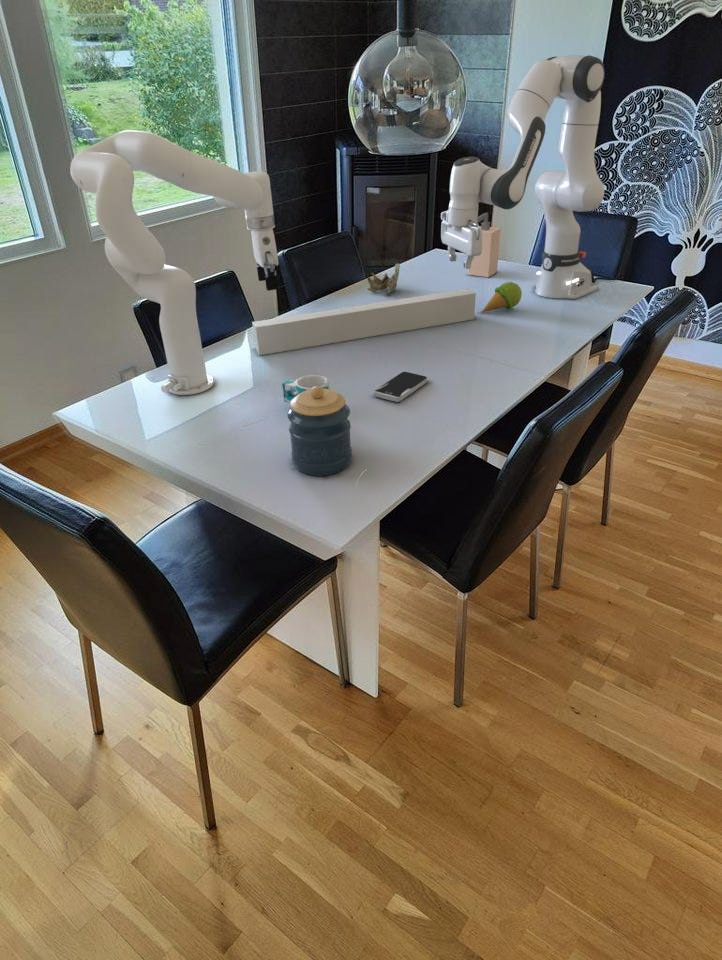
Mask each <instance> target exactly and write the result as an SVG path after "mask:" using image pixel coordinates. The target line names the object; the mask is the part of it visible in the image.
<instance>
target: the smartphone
mask: <svg viewBox="0 0 722 960" xmlns="http://www.w3.org/2000/svg"><path fill="white" fill-rule="evenodd" d="M426 383H428V377H427V376H426V375H421V374H418V373H412V372H408V371H402V372H400V373H399V374H397V375H395V376H393V378H391V379H390V380H388V381H386V382H385V383H383V384H382V385H381V386H379V387H377V388H375V390H374V391H373V392H374V394H373V396H374V397H376V398H379V399H383V400H388V401H390V402H395V403H400V402H402V401H403V400H405V399H406V398H407V397H408V396H410V395H411V394H413V393H414V392H415V391H417V390H418V389H420V388H421V387H423V386H424V385H425V384H426Z"/></svg>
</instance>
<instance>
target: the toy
mask: <svg viewBox="0 0 722 960" xmlns="http://www.w3.org/2000/svg"><path fill="white" fill-rule="evenodd" d="M522 293H523V292H522V288H521V287H520V286H519V284H518V283H515V282H513V281H507V282H505V283H502V284H501V285H500V286H498V287H496V288H495V289H494V294H493V296H491V298H490V300H489V301H488V303H487V304H486V305H485V306H484V308H483V309H482V310H481V313H485V312H490V311H496V310H500V309H506V310H507V311H508V310H511V309H513V308H514V307H516V306H517V305H518V304H520V301H521V299H522V295H523V294H522Z"/></svg>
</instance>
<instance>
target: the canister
mask: <svg viewBox="0 0 722 960" xmlns="http://www.w3.org/2000/svg"><path fill="white" fill-rule="evenodd" d="M289 404H290V408H289V409H288V411H287V419H288V421H289V422H290V424H289V426H288V432H289V435H290V446H291V460H292V462H293V465H294V467H295V468H296V470H298V471H299V472H301V473H303V474H305V475H311V476H328V475H329V476H330V475H334V474H338V473H339V472H341V471H343V470H345V469H346V468H347V467H349V465H350V463H351V461H352V457H353V449H352V445H351V443H352V442H351V421H350V420H349V416H350V414H351V409H350V407H349V406H348V404H346V399H345V396H343V395H342V394H340V393H338V392H337V391H335V390H333V389H330V388H329V389H324V388H321V387H320V386H314V387H313V388H312V389H310V390H306V391H304V392H302V393H300V394H299V395H298V396H296V397H295V398H293V399H292V401H291V403H289Z"/></svg>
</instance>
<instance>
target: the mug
mask: <svg viewBox="0 0 722 960" xmlns="http://www.w3.org/2000/svg"><path fill="white" fill-rule="evenodd" d="M281 385H282V393H283V394H282V395H283V402H284V403H288V404H291V401H292V399H293V398H295V397H296V396H298V395H299V394H300V393H302V392H304V391H306V390H310V389H312V388H313V387H314V386H320V387H321V388H324V389H330V385H329V378H327V377H325V376H323V375H320V374H308V375H304V376H300V377H299V378H298V379H296V380H292V379H287V380H285V381H284V382H282V384H281Z"/></svg>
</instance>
